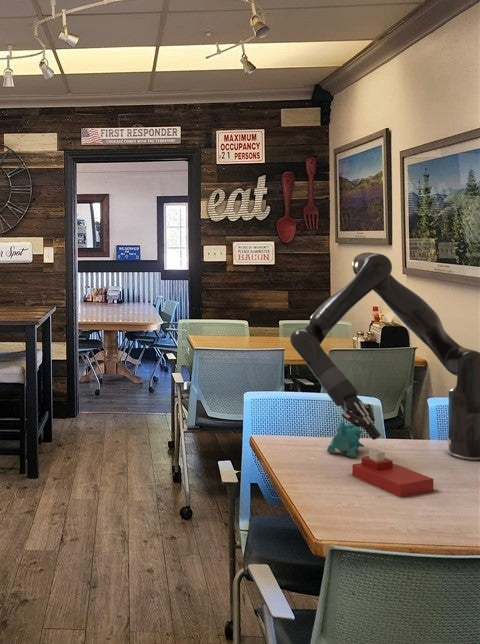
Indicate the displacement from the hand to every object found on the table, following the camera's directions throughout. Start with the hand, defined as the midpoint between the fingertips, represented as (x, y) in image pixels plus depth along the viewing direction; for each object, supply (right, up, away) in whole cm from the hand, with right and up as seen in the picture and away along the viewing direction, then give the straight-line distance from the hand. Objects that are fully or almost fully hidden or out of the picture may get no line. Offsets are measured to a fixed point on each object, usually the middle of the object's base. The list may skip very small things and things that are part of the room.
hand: (377, 437), depth 172 cm
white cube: (0, -6, 0) cm, 6 cm away
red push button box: (+2, -11, -5) cm, 12 cm away
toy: (0, -11, +21) cm, 24 cm away
